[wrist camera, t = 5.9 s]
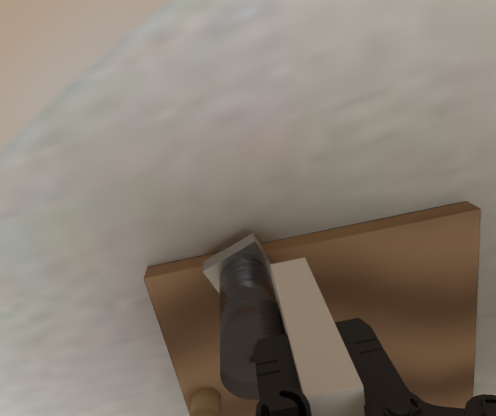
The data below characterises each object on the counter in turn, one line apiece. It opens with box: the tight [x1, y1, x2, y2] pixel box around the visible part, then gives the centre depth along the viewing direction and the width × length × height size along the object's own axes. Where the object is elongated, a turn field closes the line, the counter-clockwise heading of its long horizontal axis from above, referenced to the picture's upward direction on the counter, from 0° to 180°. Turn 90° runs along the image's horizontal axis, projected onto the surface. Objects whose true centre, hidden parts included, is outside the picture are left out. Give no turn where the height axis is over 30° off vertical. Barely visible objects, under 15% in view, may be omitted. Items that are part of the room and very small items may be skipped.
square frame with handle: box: [203, 233, 285, 402], centre depth 18 cm, size 16×7×7 cm, turn 31°
